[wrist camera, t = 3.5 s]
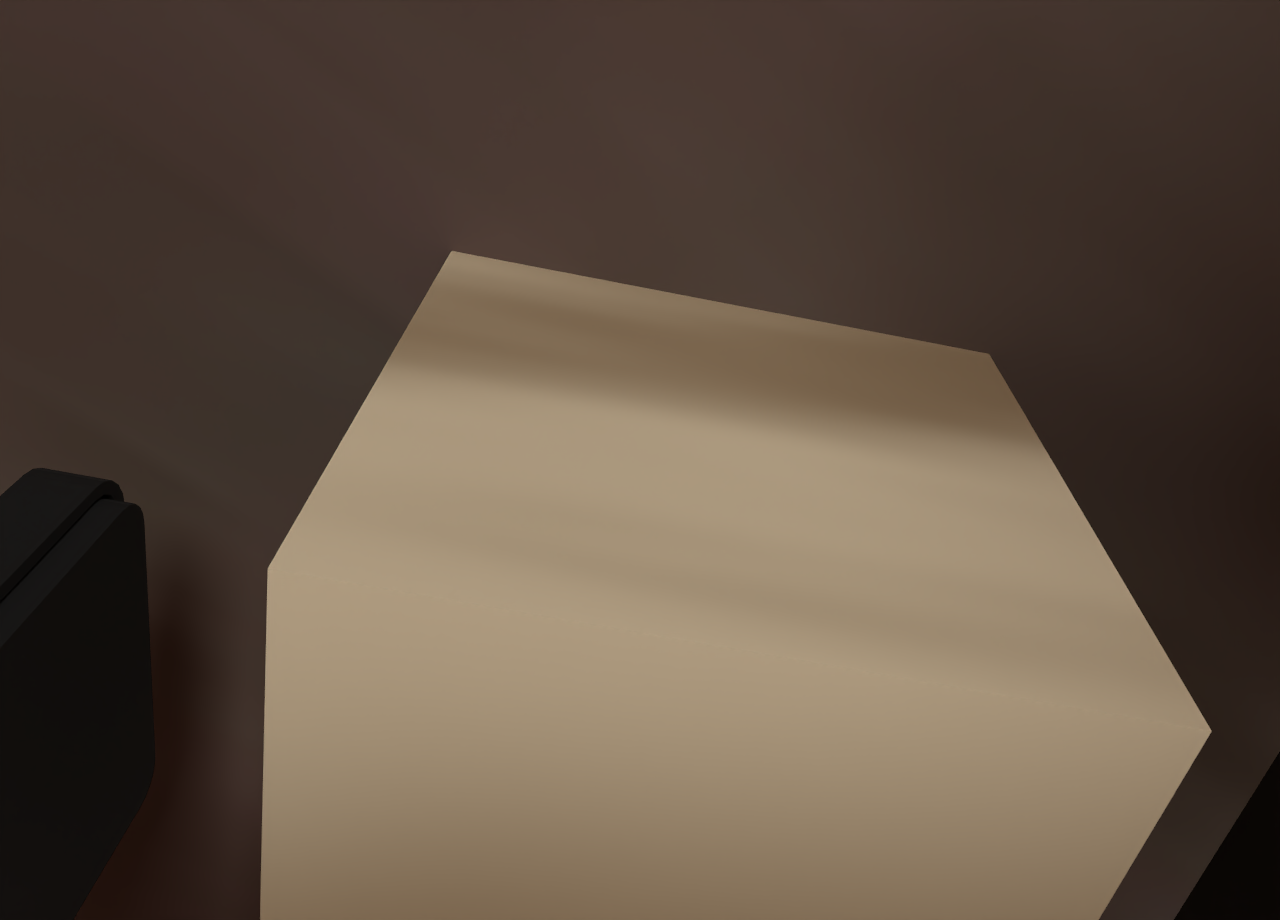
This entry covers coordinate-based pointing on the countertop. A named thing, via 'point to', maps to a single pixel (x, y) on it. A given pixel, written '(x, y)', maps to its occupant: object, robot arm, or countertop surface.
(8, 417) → the countertop surface
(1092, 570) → the maple block
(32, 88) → the countertop surface
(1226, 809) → the countertop surface
